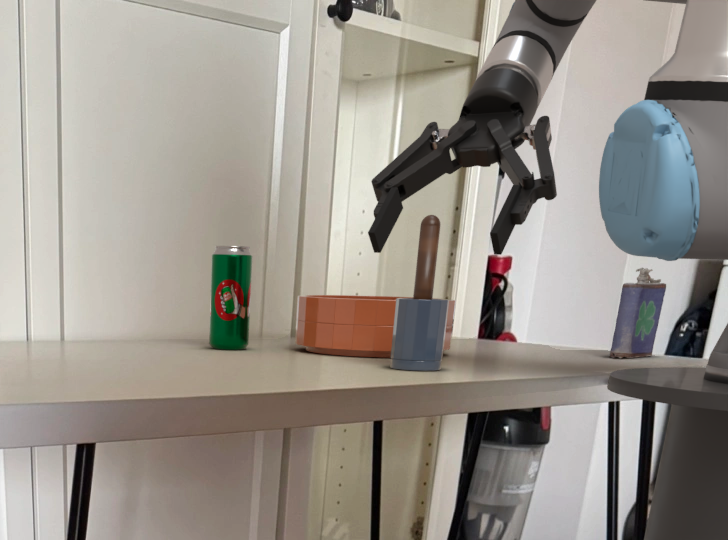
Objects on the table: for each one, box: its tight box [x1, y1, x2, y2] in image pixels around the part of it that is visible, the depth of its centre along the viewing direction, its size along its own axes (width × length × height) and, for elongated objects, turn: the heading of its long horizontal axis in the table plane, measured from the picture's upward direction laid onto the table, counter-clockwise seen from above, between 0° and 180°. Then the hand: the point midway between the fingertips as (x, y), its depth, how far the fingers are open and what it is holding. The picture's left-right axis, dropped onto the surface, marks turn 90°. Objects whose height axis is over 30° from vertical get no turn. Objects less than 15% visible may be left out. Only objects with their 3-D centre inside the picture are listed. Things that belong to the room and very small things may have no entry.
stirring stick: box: [412, 214, 441, 300], centre depth 108 cm, size 2×2×14 cm
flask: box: [609, 267, 667, 359], centre depth 133 cm, size 9×3×11 cm, turn 132°
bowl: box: [294, 294, 457, 359], centre depth 131 cm, size 20×20×6 cm
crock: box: [389, 298, 449, 372], centre depth 110 cm, size 5×6×7 cm
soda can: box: [208, 245, 253, 351], centre depth 130 cm, size 5×5×12 cm
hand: (432, 243), depth 107 cm, fingers open, 13 cm apart
